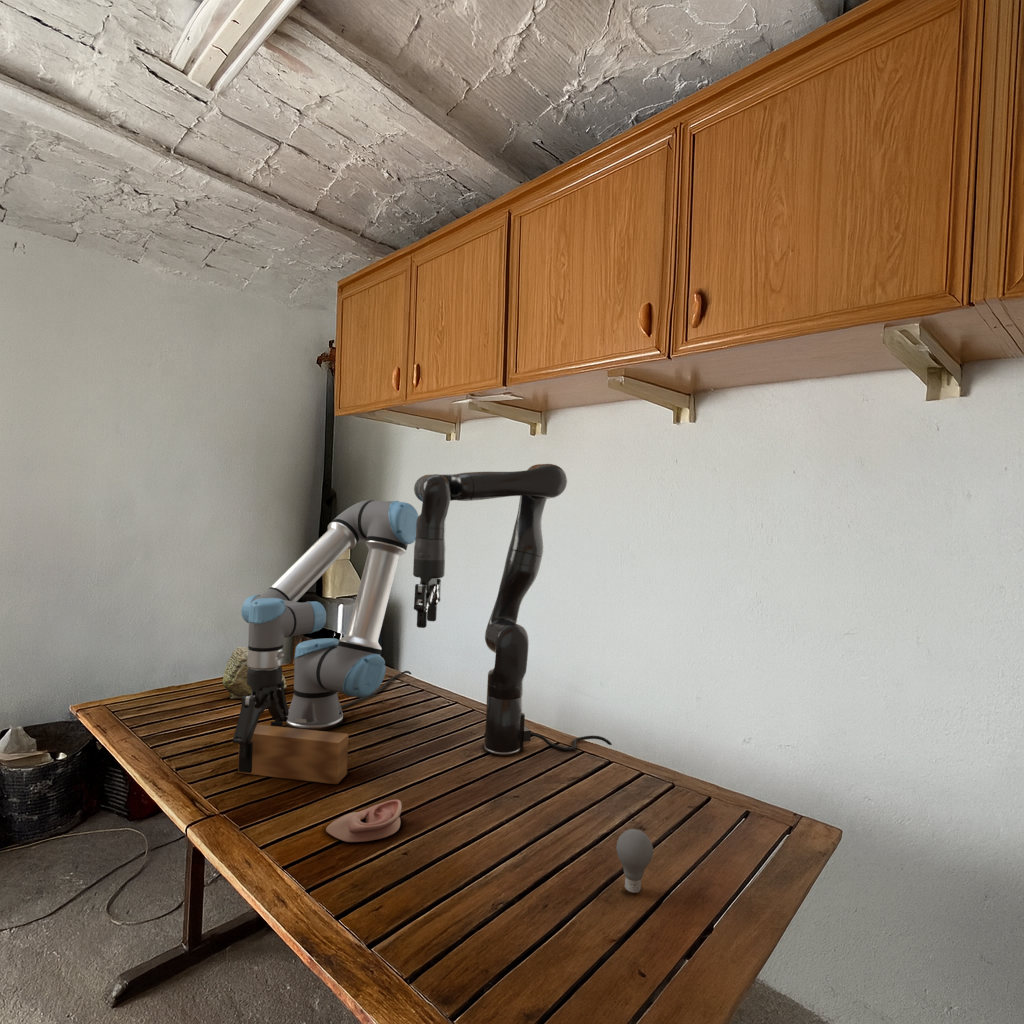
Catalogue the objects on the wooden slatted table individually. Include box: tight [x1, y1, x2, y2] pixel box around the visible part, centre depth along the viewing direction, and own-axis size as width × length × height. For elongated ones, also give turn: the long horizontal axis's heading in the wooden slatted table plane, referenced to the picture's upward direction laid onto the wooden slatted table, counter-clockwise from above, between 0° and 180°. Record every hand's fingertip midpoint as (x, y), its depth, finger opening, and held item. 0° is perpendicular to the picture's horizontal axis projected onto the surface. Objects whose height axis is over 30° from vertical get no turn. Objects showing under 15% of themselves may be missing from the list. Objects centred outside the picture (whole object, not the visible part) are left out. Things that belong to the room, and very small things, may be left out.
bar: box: [237, 723, 349, 785], centre depth 144 cm, size 24×6×9 cm, turn 81°
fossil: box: [222, 646, 288, 699], centre depth 198 cm, size 9×18×15 cm, turn 132°
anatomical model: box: [325, 799, 403, 843], centre depth 122 cm, size 13×4×12 cm
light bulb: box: [615, 828, 654, 894], centre depth 106 cm, size 6×6×10 cm
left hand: (261, 760), depth 145 cm, fingers open, 12 cm apart
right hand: (426, 624), depth 153 cm, fingers open, 8 cm apart
